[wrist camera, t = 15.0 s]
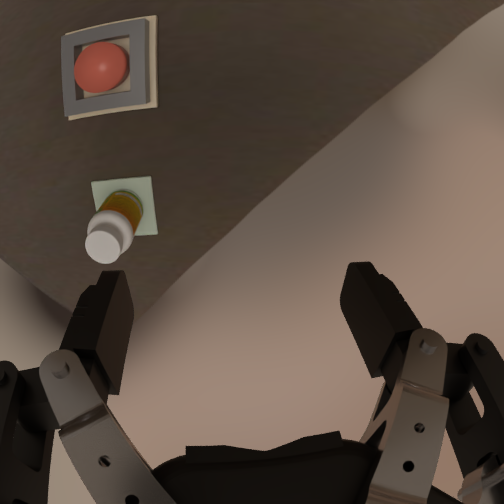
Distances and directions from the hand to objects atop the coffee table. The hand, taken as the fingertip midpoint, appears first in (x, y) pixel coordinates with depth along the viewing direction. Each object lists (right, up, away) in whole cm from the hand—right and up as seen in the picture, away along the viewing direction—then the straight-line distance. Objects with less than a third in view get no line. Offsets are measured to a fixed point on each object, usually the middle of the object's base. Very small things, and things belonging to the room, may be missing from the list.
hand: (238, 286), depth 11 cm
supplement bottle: (-16, +7, +26) cm, 32 cm away
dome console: (-15, +22, +17) cm, 32 cm away
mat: (-16, +7, +27) cm, 32 cm away
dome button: (-15, +21, +16) cm, 30 cm away
